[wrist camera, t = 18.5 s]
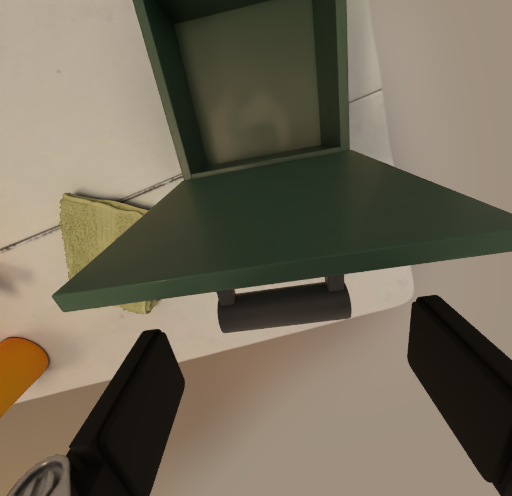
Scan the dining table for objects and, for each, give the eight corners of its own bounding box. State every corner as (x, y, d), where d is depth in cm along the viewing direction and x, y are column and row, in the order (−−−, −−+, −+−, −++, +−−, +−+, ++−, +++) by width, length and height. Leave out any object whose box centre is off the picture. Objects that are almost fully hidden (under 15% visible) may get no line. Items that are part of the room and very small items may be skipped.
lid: (49, 296, 8) (114, 382, 11) (543, 225, 7) (493, 343, 9) (182, 180, 23) (197, 228, 25) (351, 149, 22) (351, 203, 24)
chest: (166, 20, 26) (122, -36, 17) (317, -18, 24) (344, -98, 16) (205, 172, 32) (185, 184, 24) (326, 150, 30) (349, 154, 22)
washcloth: (161, 205, 34) (152, 212, 31) (159, 308, 41) (151, 321, 38) (64, 188, 33) (45, 192, 30) (80, 295, 40) (65, 307, 37)
